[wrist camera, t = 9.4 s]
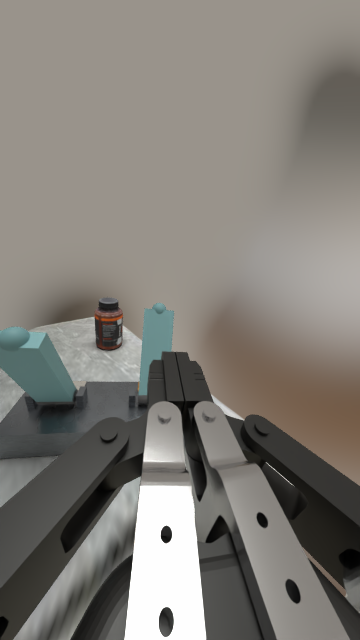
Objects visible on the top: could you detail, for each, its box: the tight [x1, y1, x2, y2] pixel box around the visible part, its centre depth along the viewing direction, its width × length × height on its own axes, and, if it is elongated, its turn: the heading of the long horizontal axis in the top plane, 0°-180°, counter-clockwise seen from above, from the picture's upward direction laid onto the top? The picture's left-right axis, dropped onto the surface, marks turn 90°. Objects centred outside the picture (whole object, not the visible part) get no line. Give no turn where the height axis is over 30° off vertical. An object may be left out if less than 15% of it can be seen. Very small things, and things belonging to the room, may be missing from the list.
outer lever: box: [138, 303, 174, 403], centre depth 26 cm, size 4×2×14 cm, turn 98°
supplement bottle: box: [95, 298, 123, 350], centre depth 42 cm, size 6×6×11 cm
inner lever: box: [0, 327, 78, 404], centre depth 19 cm, size 4×2×14 cm, turn 98°
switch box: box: [0, 381, 185, 459], centre depth 25 cm, size 22×8×6 cm, turn 98°
